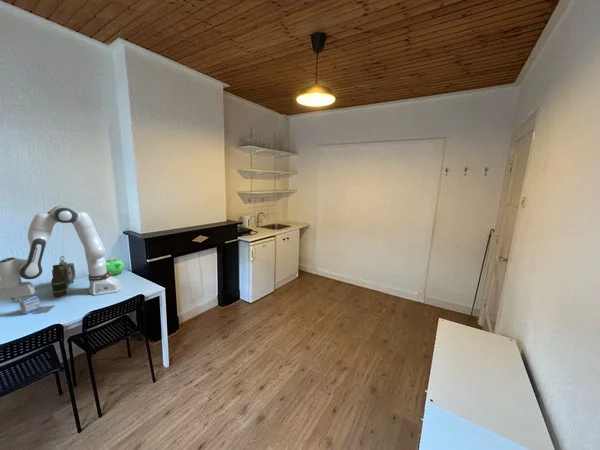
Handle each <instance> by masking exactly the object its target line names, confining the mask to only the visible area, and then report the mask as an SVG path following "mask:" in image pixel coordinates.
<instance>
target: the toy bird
mask: <svg viewBox="0 0 600 450" xmlns="http://www.w3.org/2000/svg"><path fill="white" fill-rule="evenodd" d="M105 261H106V268H107V272H108V273H110V272H111V274H110V276H115V275H118V274H120V273H122V272H123V271H124V270H125V266H126V265H125V262H123V260H121V259H119V258H115V257H111V258H110V259H107V260H105Z"/></svg>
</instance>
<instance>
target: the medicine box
mask: <svg viewBox="0 0 600 450" xmlns="http://www.w3.org/2000/svg"><path fill="white" fill-rule="evenodd" d="M18 304H19V306H20V311H21V312H20V313H21V314H23V315H29V314H32V313H33V312H35V311H36V310H38V309H40V308H41V307H42V306H41V303H40V299H39V297H38V296H36V295H35V296H30V297H27V298H25V299H23V300H19V302H18Z"/></svg>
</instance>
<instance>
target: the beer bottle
mask: <svg viewBox="0 0 600 450" xmlns="http://www.w3.org/2000/svg"><path fill="white" fill-rule="evenodd" d="M52 270H53V272H54V276H53V275H52V278H51V282H50V283H51V287H52V294H53V297H54V298H55V299H56V298H63V297H65V296H67V294H68V288H67V287H66V284H67V283H66V281H65V278H64V276H62V275H61V273H60V269H59V264H53V265H52Z"/></svg>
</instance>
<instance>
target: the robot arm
mask: <svg viewBox="0 0 600 450" xmlns="http://www.w3.org/2000/svg"><path fill="white" fill-rule="evenodd" d="M57 223H61V224H72V226H73V227H74V229H75V231H76V234H77V236H78V238H79V240H80V243H81V244H82V246H83V248H84V254H85V259H86V263H87V270H88V282H89V290H88V294H90V295H92V296H95V297H96V296H101V295H108V294H114V293H119V292H120V291H122V290H123V289H124V287H125V285H124V283H121V282H120V280H119V279H118V278H116V277H114V276H113V275H110V274H111V272H110V273H108V272H107V268H106V261H107V260H106V258H105V257H106V252H107V251H106V248H105V245H104V243H103V241H102V239H101V237H100V235H99V233H98V232H97V231H98V230H97V229H96V226H95V224H94V221H93V220H92V218H91V217H90V215H89V214H88V213H87V212H85V211H77V212H76V211H74V210H73V209H71V208H70V207H68V206H64V205H57V206H55V207H53V208H52V209H51V210H49V211H48V212H46V213H45V212H39V213H37V214H35V215H34V216H33V219H32V220H31V222H30V225H29V227H28V231H27V240H28V242H29V247H30V248H29V253H28V255H27V256H28V257H27V259H21V258H16V257H7V258H4V259H2V260H0V299H4V298H7V299H8V300H9V301H10V302H11V304H17V303H18V304H19V302H20V299H21V297H28V296H30V297H31V296H32V295H34V294H35V293H36V290H35V287H34V284H33V282H31V281H22V279H24V280H34V279H37V278H38V277H40V276H41V275H42V274H43V267H42V260H43V255H44V252H45V248H46V246H47V243H48V242H49V240H50V237H51V235H52V232H53V229H54V226H55V225H56V224H57Z"/></svg>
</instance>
